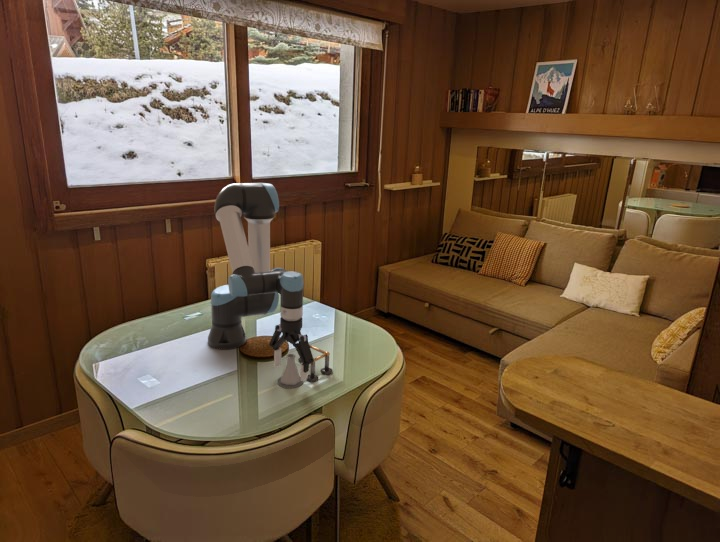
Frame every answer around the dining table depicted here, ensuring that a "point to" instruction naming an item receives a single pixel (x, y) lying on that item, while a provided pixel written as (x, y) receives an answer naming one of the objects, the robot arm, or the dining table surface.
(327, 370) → the wire rail
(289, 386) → the pad
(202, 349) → the dining table surface
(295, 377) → the flask
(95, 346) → the dining table surface
